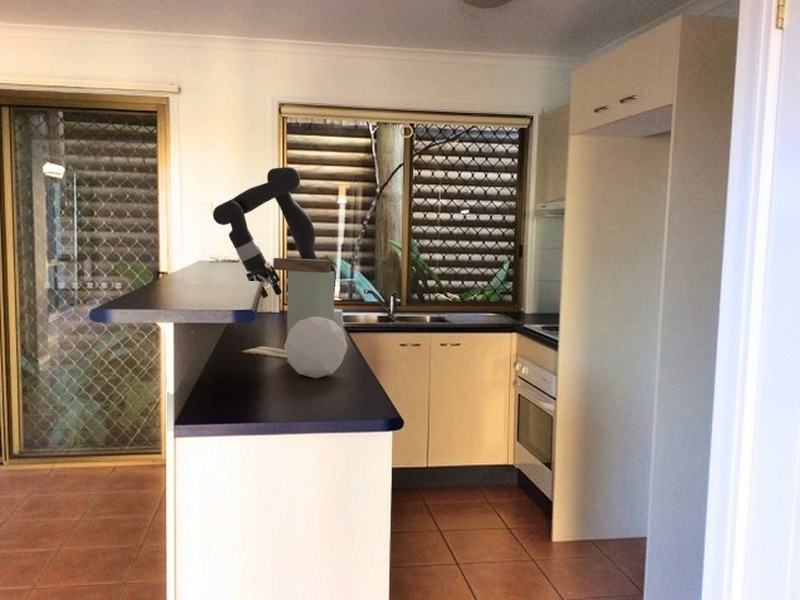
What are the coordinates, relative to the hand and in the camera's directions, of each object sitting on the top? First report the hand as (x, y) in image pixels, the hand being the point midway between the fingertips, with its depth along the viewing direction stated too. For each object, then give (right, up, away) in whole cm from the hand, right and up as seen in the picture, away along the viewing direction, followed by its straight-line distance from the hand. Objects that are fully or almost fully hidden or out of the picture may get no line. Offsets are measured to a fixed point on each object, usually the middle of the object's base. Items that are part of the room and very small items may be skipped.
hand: (272, 295), depth 232 cm
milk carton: (+20, -23, +3) cm, 31 cm away
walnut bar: (+11, +9, -7) cm, 16 cm away
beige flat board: (0, -22, +10) cm, 24 cm away
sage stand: (+14, -24, -6) cm, 28 cm away
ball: (+19, -26, -25) cm, 40 cm away
